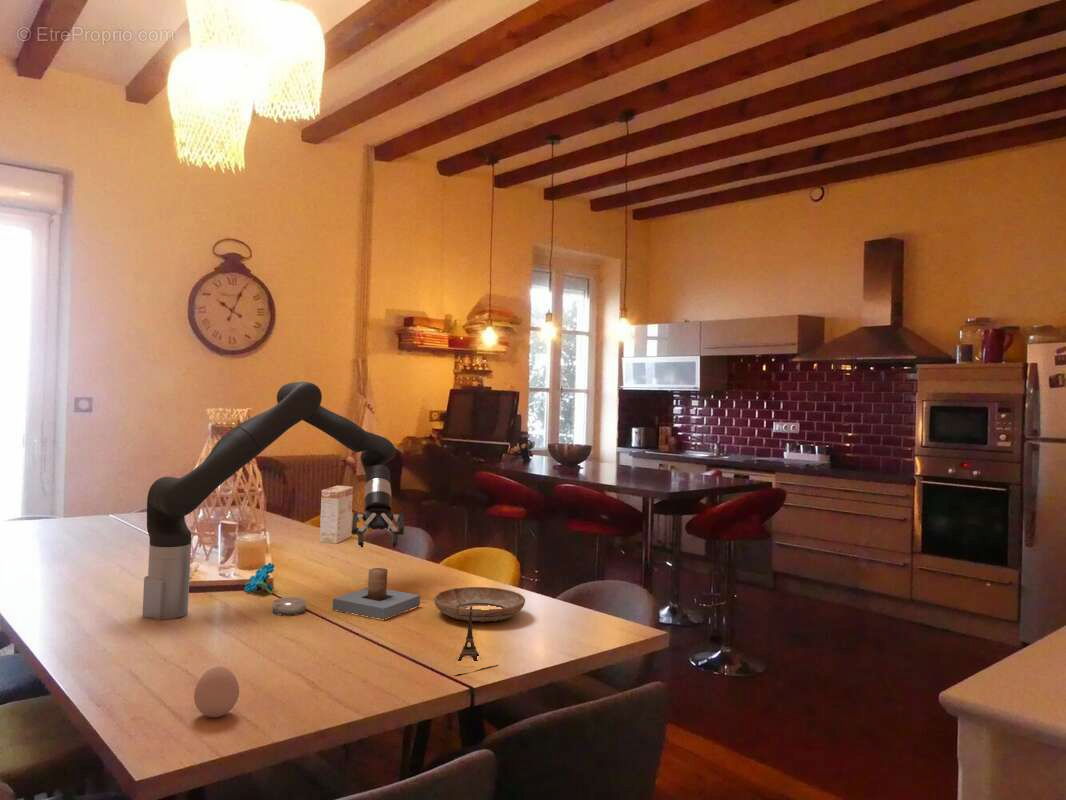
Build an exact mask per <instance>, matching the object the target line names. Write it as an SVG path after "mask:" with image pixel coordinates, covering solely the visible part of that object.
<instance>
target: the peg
mask: <svg viewBox="0 0 1066 800" xmlns="http://www.w3.org/2000/svg"><path fill="white" fill-rule="evenodd" d="M388 572H389V571H388V569H387V568H381V567H374V568H369V569H368V581H367V582H368V583H367V588H368V599H371V600H376V601H382V600H385V599H386V593H387V589H388Z"/></svg>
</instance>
